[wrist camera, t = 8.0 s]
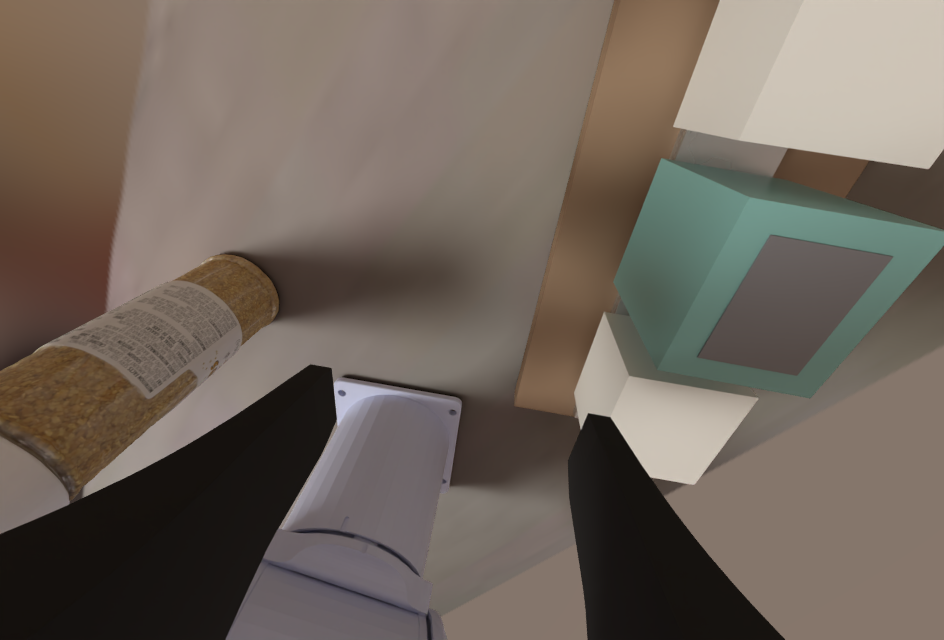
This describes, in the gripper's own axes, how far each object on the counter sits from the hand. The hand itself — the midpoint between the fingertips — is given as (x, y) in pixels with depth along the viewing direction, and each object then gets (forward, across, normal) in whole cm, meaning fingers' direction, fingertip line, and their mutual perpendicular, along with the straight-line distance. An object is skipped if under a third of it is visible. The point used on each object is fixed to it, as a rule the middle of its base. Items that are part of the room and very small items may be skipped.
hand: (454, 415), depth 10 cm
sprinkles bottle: (+10, +13, +3) cm, 17 cm away
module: (+8, -8, -4) cm, 12 cm away
